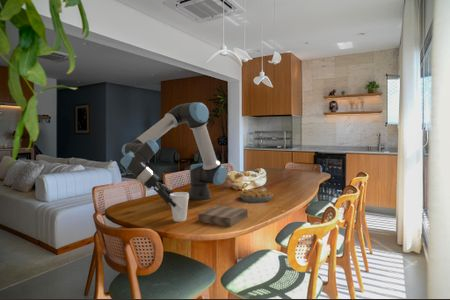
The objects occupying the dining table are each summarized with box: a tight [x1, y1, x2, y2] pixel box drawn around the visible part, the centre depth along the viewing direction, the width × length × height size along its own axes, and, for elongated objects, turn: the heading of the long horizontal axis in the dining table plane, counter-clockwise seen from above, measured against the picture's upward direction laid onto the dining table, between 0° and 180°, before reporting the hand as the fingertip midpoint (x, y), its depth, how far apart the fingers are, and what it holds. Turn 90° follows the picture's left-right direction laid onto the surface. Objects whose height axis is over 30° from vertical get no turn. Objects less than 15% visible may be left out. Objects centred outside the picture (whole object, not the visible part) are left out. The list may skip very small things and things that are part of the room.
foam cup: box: [170, 191, 190, 223], centre depth 145 cm, size 10×9×13 cm
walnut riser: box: [197, 205, 249, 228], centre depth 145 cm, size 18×18×4 cm
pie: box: [239, 189, 273, 203], centre depth 189 cm, size 22×22×5 cm
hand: (180, 206), depth 144 cm, fingers open, 13 cm apart
